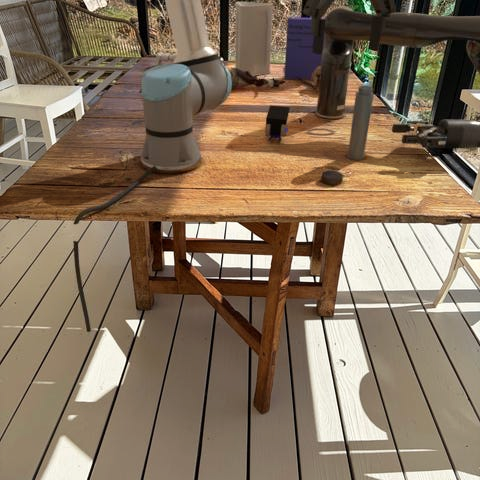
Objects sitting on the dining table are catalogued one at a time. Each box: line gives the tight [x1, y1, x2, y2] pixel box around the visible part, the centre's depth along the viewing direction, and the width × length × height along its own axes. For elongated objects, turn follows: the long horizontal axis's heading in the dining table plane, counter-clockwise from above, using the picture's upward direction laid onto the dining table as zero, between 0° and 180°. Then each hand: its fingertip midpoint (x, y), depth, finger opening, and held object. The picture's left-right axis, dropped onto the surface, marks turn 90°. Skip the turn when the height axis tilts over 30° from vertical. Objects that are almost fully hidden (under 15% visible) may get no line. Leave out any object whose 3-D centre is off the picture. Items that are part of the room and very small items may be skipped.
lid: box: [320, 170, 344, 186], centre depth 114 cm, size 5×5×2 cm
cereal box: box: [283, 16, 325, 81], centre depth 202 cm, size 17×5×24 cm, turn 86°
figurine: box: [230, 66, 287, 89], centre depth 190 cm, size 24×8×30 cm
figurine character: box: [264, 105, 290, 143], centre depth 140 cm, size 7×8×15 cm
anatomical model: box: [310, 66, 321, 93], centre depth 190 cm, size 13×9×15 cm
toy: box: [155, 51, 177, 66], centre depth 223 cm, size 24×25×7 cm
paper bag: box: [234, 1, 274, 77], centre depth 210 cm, size 19×15×28 cm
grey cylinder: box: [346, 85, 375, 161], centre depth 124 cm, size 4×4×18 cm
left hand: (345, 52), depth 100 cm, fingers open, 13 cm apart
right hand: (397, 133), depth 125 cm, fingers open, 8 cm apart
